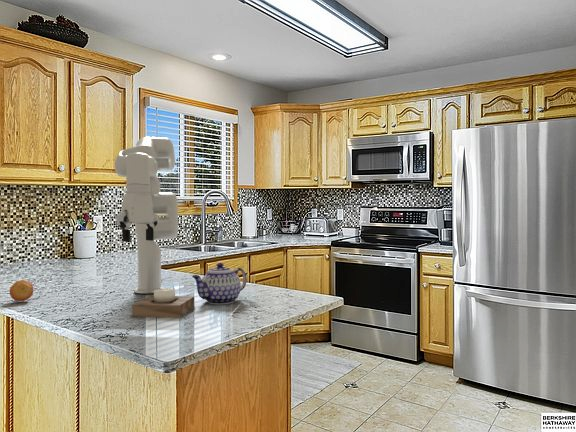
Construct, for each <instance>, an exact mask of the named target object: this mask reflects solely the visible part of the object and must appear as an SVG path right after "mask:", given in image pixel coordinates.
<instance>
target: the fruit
mask: <svg viewBox="0 0 576 432" xmlns="http://www.w3.org/2000/svg"><path fill="white" fill-rule="evenodd" d="M33 294H34V285H33V283H32V282H30V281H28V280H25V279H21V280H17V281H15V283H14V284H12V285H11V286H10V288H9V296H10V297H11V298H12V300H14V301H17V302H24V301H27V300H29V299H30V298H32V296H33Z"/></svg>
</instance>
